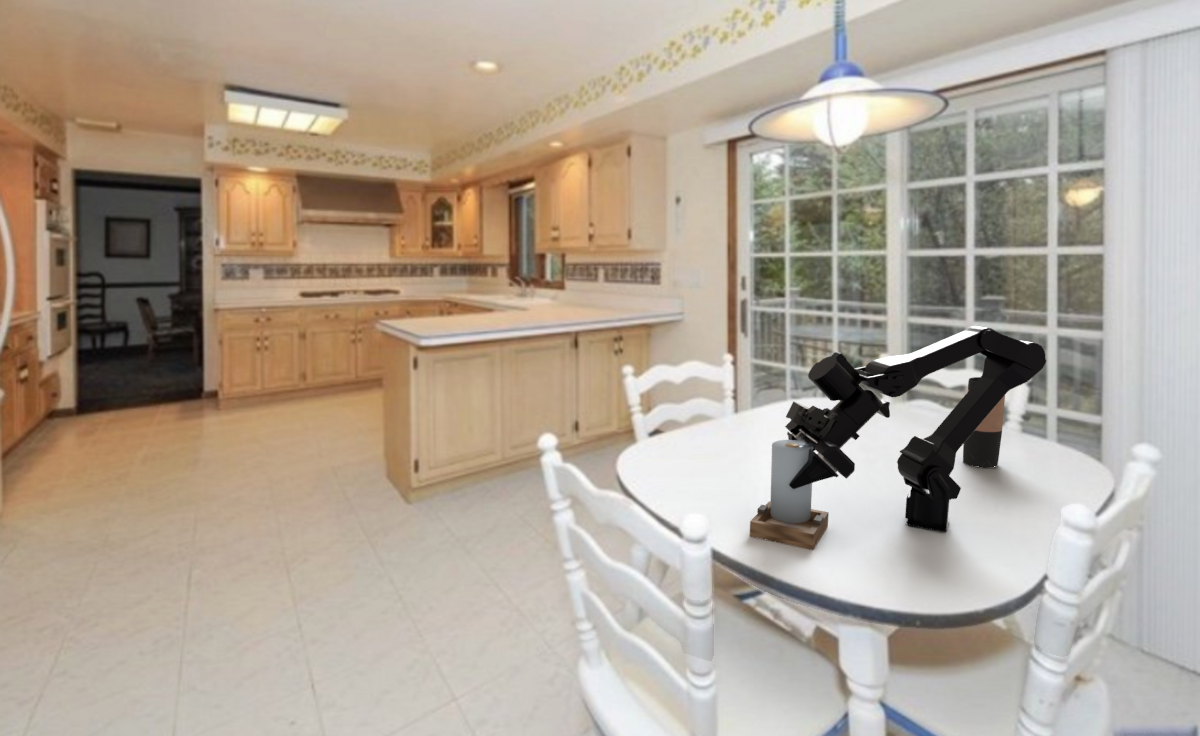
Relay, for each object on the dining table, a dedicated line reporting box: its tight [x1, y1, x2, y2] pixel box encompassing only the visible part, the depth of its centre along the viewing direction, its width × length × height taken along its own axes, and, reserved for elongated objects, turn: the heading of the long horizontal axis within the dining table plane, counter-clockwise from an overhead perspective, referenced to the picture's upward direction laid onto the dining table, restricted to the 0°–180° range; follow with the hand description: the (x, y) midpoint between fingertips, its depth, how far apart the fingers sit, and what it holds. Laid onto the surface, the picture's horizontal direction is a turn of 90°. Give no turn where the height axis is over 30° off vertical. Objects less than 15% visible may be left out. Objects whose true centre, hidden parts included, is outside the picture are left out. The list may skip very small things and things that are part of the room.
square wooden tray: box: [749, 500, 829, 551], centre depth 117 cm, size 11×11×4 cm
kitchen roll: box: [770, 439, 813, 523], centre depth 115 cm, size 7×7×13 cm
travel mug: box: [962, 376, 1006, 468], centre depth 151 cm, size 8×8×20 cm
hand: (783, 479), depth 115 cm, fingers closed on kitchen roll, 7 cm apart
